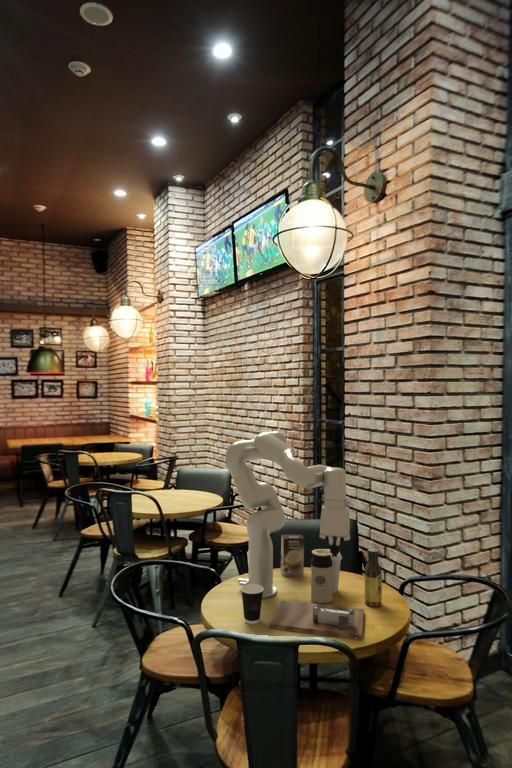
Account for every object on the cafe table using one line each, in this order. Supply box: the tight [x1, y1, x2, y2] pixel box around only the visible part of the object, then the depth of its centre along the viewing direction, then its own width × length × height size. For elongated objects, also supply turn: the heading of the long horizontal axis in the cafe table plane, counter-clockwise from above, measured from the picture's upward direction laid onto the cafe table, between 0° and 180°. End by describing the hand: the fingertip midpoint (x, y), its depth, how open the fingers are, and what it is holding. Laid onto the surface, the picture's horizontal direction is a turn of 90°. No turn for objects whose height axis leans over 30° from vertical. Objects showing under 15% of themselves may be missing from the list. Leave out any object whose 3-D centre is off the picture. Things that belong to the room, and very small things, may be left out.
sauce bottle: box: [364, 548, 383, 608], centre depth 188 cm, size 7×6×20 cm
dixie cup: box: [240, 584, 264, 625], centre depth 174 cm, size 8×8×11 cm
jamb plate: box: [268, 599, 365, 640], centre depth 174 cm, size 30×20×6 cm, turn 76°
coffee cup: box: [325, 548, 343, 594], centre depth 201 cm, size 10×10×15 cm
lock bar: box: [313, 606, 355, 627], centre depth 168 cm, size 14×2×5 cm, turn 75°
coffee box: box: [280, 534, 305, 577], centre depth 220 cm, size 9×6×16 cm
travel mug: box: [310, 548, 333, 604], centre depth 192 cm, size 8×8×18 cm
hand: (334, 555), depth 178 cm, fingers closed
